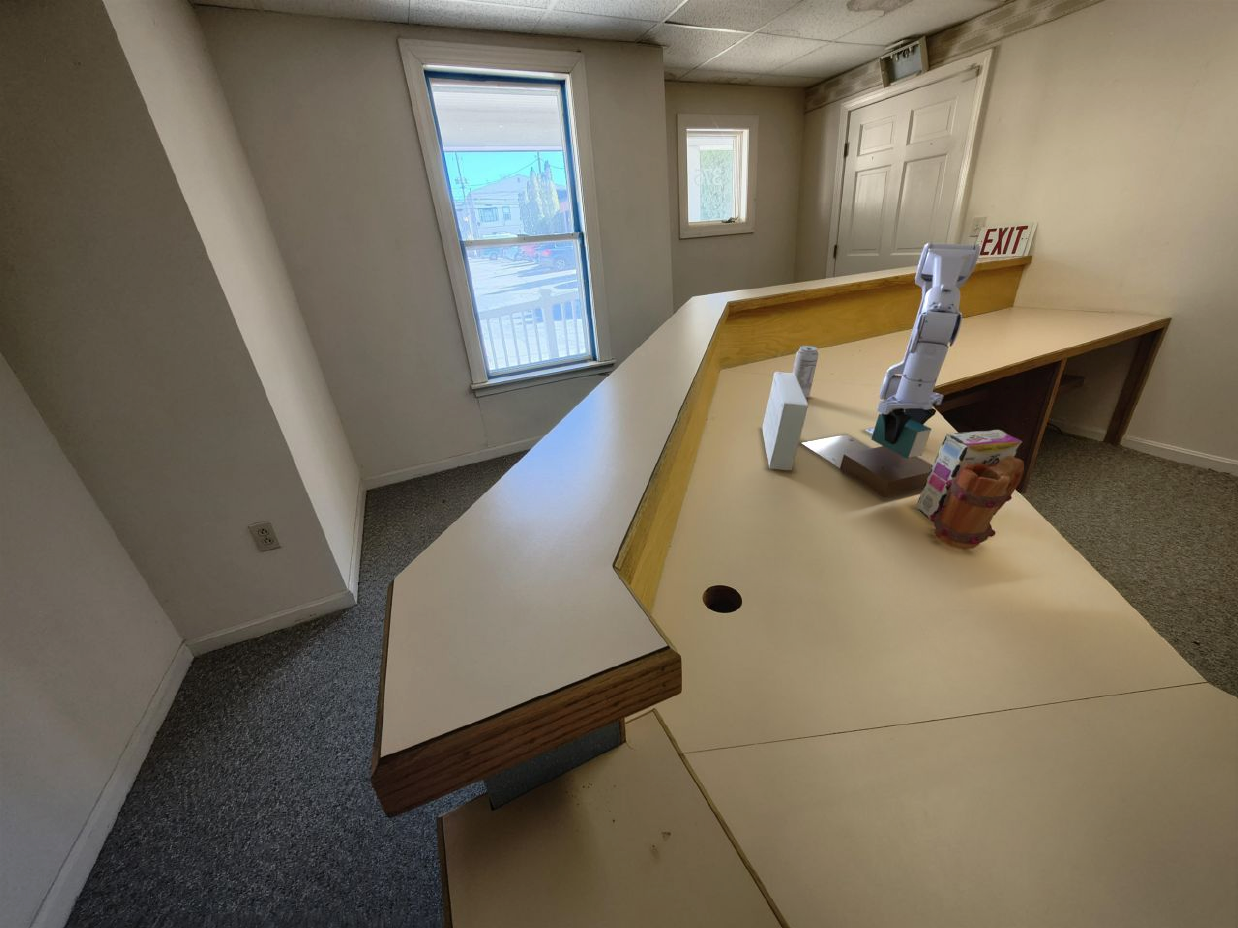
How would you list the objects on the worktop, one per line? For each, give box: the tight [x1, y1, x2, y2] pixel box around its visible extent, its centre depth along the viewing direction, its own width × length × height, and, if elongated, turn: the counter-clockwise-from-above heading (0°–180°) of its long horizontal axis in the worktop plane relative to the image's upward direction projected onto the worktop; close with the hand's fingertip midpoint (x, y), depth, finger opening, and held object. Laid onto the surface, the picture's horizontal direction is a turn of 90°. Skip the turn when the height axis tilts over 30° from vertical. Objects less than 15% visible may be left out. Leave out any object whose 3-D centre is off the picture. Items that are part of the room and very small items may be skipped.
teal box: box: [871, 413, 932, 458], centre depth 93 cm, size 4×9×6 cm, turn 19°
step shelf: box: [801, 433, 933, 498], centre depth 102 cm, size 14×25×4 cm, turn 19°
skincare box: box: [761, 371, 809, 471], centre depth 105 cm, size 21×6×16 cm, turn 168°
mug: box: [930, 456, 1025, 551], centre depth 77 cm, size 15×8×15 cm, turn 114°
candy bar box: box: [914, 429, 1023, 522], centre depth 83 cm, size 11×5×16 cm, turn 100°
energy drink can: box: [792, 345, 820, 400], centre depth 134 cm, size 6×6×15 cm
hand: (897, 440), depth 93 cm, fingers closed on teal box, 4 cm apart
